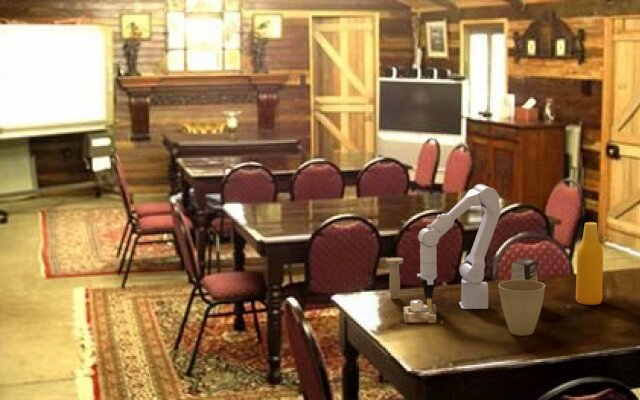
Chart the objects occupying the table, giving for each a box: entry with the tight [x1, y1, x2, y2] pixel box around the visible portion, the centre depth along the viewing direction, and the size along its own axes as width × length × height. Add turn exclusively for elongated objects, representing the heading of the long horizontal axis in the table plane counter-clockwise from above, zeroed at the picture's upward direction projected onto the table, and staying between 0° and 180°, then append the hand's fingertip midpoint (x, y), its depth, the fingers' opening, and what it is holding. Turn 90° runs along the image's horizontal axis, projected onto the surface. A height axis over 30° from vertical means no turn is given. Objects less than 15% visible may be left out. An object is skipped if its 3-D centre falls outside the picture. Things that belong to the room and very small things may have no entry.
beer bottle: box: [575, 221, 604, 306], centre depth 337 cm, size 9×9×29 cm
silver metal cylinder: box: [409, 299, 424, 313], centre depth 323 cm, size 5×5×6 cm
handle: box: [385, 257, 404, 300], centre depth 348 cm, size 5×6×15 cm
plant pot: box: [497, 279, 546, 336], centre depth 305 cm, size 15×15×16 cm
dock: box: [403, 303, 437, 324], centre depth 325 cm, size 11×14×3 cm
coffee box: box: [510, 258, 538, 281], centre depth 336 cm, size 9×6×16 cm
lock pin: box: [426, 297, 435, 315], centre depth 325 cm, size 1×11×5 cm, turn 178°
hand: (428, 299), depth 333 cm, fingers closed
